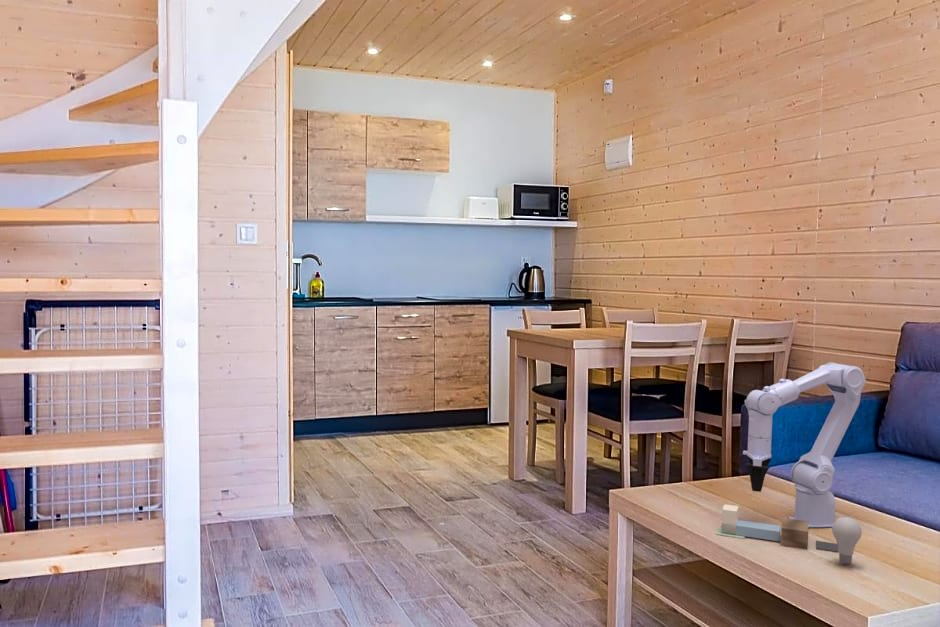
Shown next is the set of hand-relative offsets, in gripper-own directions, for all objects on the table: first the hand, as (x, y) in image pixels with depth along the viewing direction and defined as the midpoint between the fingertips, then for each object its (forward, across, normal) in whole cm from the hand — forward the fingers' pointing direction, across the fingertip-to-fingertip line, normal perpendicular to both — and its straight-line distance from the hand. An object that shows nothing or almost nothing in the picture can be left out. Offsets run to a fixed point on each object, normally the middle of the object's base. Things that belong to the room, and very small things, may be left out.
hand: (757, 487), depth 201 cm
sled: (+10, +8, -1) cm, 13 cm away
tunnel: (+10, +8, +10) cm, 16 cm away
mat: (+10, +8, -6) cm, 14 cm away
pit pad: (+10, +8, +17) cm, 22 cm away
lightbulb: (+11, +19, +20) cm, 30 cm away
